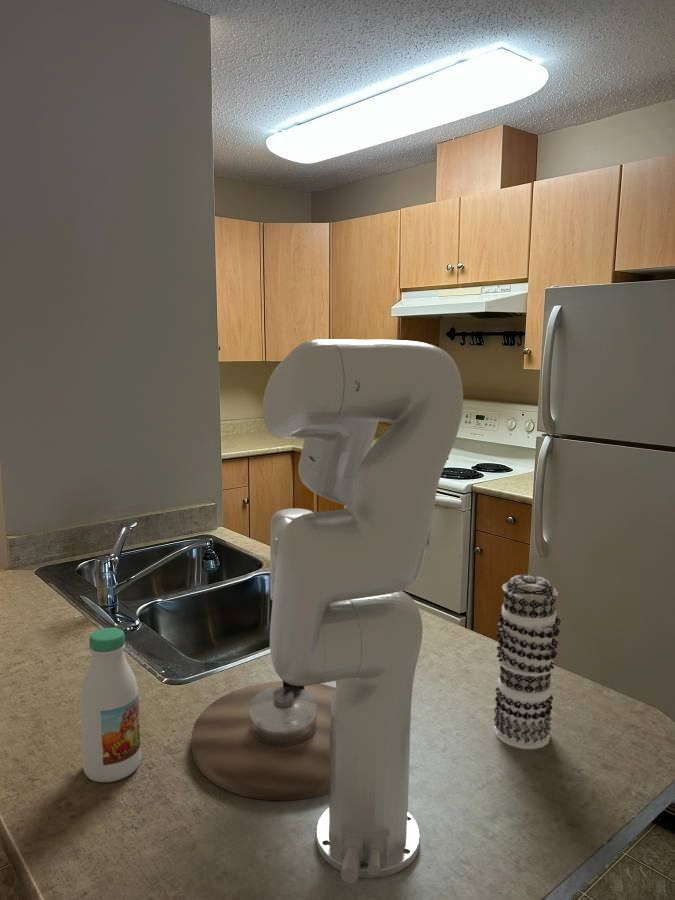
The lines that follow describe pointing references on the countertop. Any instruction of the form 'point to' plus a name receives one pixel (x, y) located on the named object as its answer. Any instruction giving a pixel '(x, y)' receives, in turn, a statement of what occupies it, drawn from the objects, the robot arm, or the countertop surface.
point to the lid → (283, 716)
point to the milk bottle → (109, 710)
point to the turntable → (261, 749)
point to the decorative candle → (526, 662)
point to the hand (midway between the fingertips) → (293, 695)
